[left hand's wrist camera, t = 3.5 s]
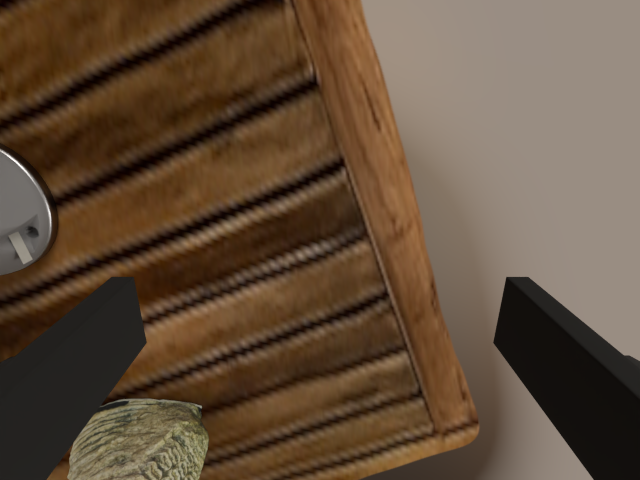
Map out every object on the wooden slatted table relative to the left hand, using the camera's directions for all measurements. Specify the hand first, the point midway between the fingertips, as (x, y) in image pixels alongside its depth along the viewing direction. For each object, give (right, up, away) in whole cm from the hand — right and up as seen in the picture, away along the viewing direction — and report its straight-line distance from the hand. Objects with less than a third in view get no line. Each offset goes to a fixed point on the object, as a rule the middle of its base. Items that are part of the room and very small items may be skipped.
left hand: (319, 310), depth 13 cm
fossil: (-23, -22, +38) cm, 50 cm away
